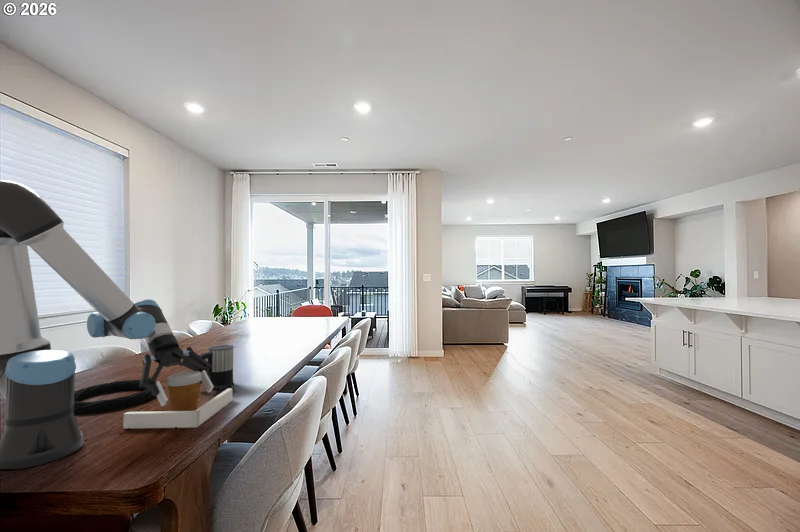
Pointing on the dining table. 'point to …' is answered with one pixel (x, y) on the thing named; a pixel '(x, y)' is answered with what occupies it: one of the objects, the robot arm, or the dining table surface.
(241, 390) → the dining table surface
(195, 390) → the disposable coffee cup
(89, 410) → the cable lock
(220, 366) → the milk frother
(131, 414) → the bracket
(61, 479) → the dining table surface
